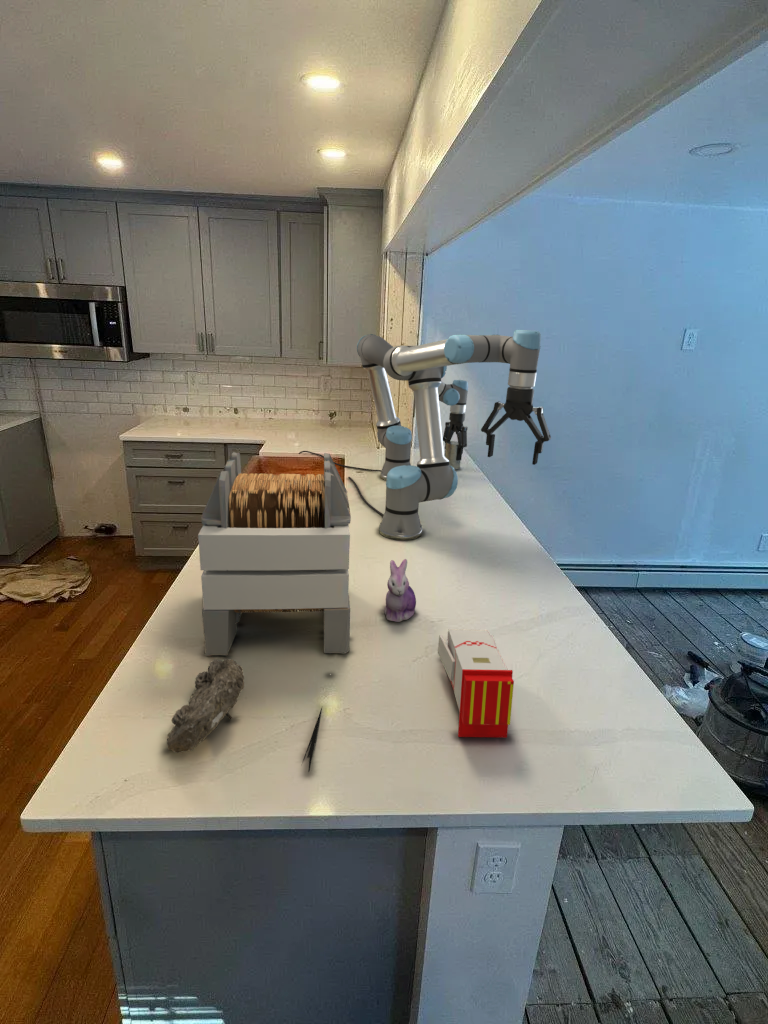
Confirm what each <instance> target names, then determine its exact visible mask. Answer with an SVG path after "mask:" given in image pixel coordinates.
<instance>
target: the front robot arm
mask: <svg viewBox="0 0 768 1024" xmlns="http://www.w3.org/2000/svg"><path fill="white" fill-rule="evenodd" d="M541 340H542V334H541V332H540V331H539V330H530V329H515V330H514V331H513V335H512V336H509V335H501V334H483V335H482V334H478V335H477V334H464V333H463V334H462V333H461V334H453V335H450V336H449V337H448V338H446V339H440V340H437V341H433V342H428V343H423V344H419V345H395V346H393V348H391V349H390V350H388V352H387V353H386V354H385V356H384V360H383V365H384V369H385V371H386V373H387V376H389V377H390V378H392V379H393V380H396V381H407V384H408V388H409V389H410V390H411V391H412V392H413V400H414V401H413V402H414V410H415V419H416V421H415V422H416V429H417V430H416V431H417V440H418V449H419V460H418V462H417V463H416V465H412V464H411V465H408V466H406V465H403V466H398V467H395V468H392V469H391V470H390V471H389V472H388V474H387V480H385V504H384V505H385V507H384V508H385V509H384V513H382V512H381V511H380V510H378V509H377V508H375V507H374V506H373V505H371V504H370V503H369V502H368V501H367V500H366V499H365V497H364V496H363V494H362V492H361V491H360V489H359V486H358V485H357V483H356V482H355V481H354V480H353V478H352V477H350V476H348V479H349V480H350V481H351V482H352V483H353V485H354V486H355V488H356V490H357V492H358V494H359V496H360V498H361V500H363V502H364V503H365V504H366V505H367V506H368V507H369V508H371V509H372V510H373V511H375V512H376V513H377V514H379V515H380V516H381V517H382V519H381V522H379V525H378V533H379V534H380V535H381V536H382V537H385V538H387V539H389V540H395V541H410V540H415V539H418V538H420V537H421V536H422V535H423V525H422V524H421V518H420V515H419V507H420V506H419V505H420V503H426V502H432V501H437V500H439V501H441V500H444V499H446V498H450V497H451V496H453V495H454V493H455V492H456V490H457V488H458V482H459V478H458V477H459V476H458V473H457V471H456V469H454V468H453V467H452V466H450V465H449V460H448V459H447V458H445V447H444V441H443V431H442V430H443V427H442V418H441V407H440V401H439V397H438V387H439V386H440V384H441V381H442V379H443V378H444V377H445V375H446V372H447V369H448V366H455V365H462V364H463V365H464V364H468V363H469V364H470V363H472V364H473V363H478V364H479V363H500V364H509V371H508V379H507V385H508V387H507V389H506V396H505V397H506V398H505V403H504V402H501V401H500V400H498V401H495V402H494V403H493V408H492V410H491V412H490V414H489V416H488V417H487V419H486V420H485V422H484V423H483V425H482V427H481V429H480V432H482V433H484V434H485V435H486V436H485V437H486V438H485V445H486V446H487V447H488V448H487V458H492V457H493V456H494V450H495V439H496V434H495V433H494V432H495V431H496V430H498V429H499V428H500V427H501V426H502V425H503V424H504V423H505V422H506V421H507V420H508V419H509V420H511V421H519V422H522V421H524V423H525V424H527V426H528V428H529V429H530V431H531V432H532V434H533V436H534V438H535V439H536V441H535V442H534V448H533V455H532V463H531V465H533V466H536V465H537V464H538V459H539V454H542V452H543V451H544V445H545V442H549V441H551V439H552V436H551V434H550V433H551V432H550V431H549V430H550V429H549V427H548V424H547V422H546V421H547V420H546V418H545V415H544V406H542V405H540V406H534V405H533V404H534V396H535V395H534V394H535V389H534V387H535V386H536V380H537V373H538V364H539V356H540V351H541V347H542V346H541ZM501 410H504V411H505V413H504V414H503V415H502V416H501V417H500V418H499V419H498V420H497V421H496V422H495V423H494V424H493V425H492V423H493V422H494V420H495V418H496V417H497V415H498V414H499V412H500V411H501ZM533 412H534V415H535V416H536V418H537V421H538V424H539V427H540V429H539V428H538V426H537V424H536V423H535V421H534V419H533V417H532V416H531V414H532V413H533ZM491 425H492V426H491ZM540 430H541V431H540Z"/></svg>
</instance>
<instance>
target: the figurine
mask: <svg viewBox="0 0 768 1024" xmlns="http://www.w3.org/2000/svg"><path fill="white" fill-rule="evenodd" d="M407 567H408V559H406V558H404V559H403V560H402V561H401V563H400V565H399V566H398V565H397V563H396V562H395V561H394V560H393V559H391V560H390V561H389V570H390V576H389V578H388V579H387V589H388V591H387V592H386V594H385V595H386V596H385V607H384V615H385V616H386V620H387V621H391V622H395V623H400V622H402V621H406V620H409V619H410V618H411V617H413V616H414V615H415V610H416V606H417V597H416V593H415V591H414V590H413V587H411V586H410V582H409V579H408V577H407V574H406V571H407Z"/></svg>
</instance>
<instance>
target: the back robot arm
mask: <svg viewBox="0 0 768 1024" xmlns="http://www.w3.org/2000/svg"><path fill="white" fill-rule="evenodd" d="M393 347H394V346H393V345H392V344H390V343H389V342H388V341H387V340H386V339H384V337H382V336H379V335H376V334H372V333H370V334H365V335H362V336H361V337H360V338H359V339H358V342H357V344H356V351H357V352H356V353H357V355H358V356H359V358H360V362H361V366H362V369H363V370H365V371H366V373H367V377H368V381H369V382H368V383H369V386H370V390H371V395H372V398H373V403H374V407H375V411H376V416H377V422H376V423H375V426H376V430H377V432H376V436H377V437H376V438H377V440H378V443H379V444H380V445H381V446H382V447H383V448H384V449H385V451H384V452H385V453H384V456H385V457H384V462H383V465H382V468H381V469H372V468H371V469H370V468H363V467H357V466H349V465H344V464H342V463H341V464H340V463H338V462H335V461H333V462H334V464H335V466H339V467H342V468H347V469H354V470H359V471H368V472H378V473H380V479H382V480H383V481H386V480H387V474H388V472H389V471H390V470H391V469H392V468H395V467H398V466H403V465H406V466H408V465H412V463H411V453H412V439H413V436H412V430H411V429H410V428H409V427H407V426H403V425H402V423H401V419H400V417H398V416H397V414H396V411H395V405H394V401H393V396H392V391H391V388H390V382H389V377H388V374H387V373H386V371H385V369H384V365H383V360H384V356H385V354H386V353H387V352H388V350H390V349H391V348H393ZM468 392H469V382H468V381H467V380H463V379H454V380H452V383H450V384H447V383H445V382H444V381H442V380H441V384H440V386H439V387H438V397H439V402H441V403H443V404H445V405H446V406H449V416H448V417H449V418H448V420H449V421H445V423H444V425H445V426H444V431H443V434H442V438H443V443H444V452H445V451H446V442H448V441H452V439H453V436H454V434H455V435H456V438H457V442H458V444H459V447H458V448H457V458H456V460H457V461H458V460H461V461H462V457H463V453H464V448H467V447H468V426H465V425H464V422H465V421H466V420H465V419H466V411H467V401H468V394H469V393H468ZM461 444H462V445H461ZM302 453H306V454H311V455H315V456H319V457H321V458H323V459H324V454H320V453H317V452H312V451H310V450H309V451H308V450H301V451H299V452H298V453H297V454H298V455H300V454H302Z"/></svg>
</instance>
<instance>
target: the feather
mask: <svg viewBox="0 0 768 1024" xmlns="http://www.w3.org/2000/svg"><path fill="white" fill-rule="evenodd" d="M329 675H330V676H331V675H332V674H331V673H330V674H329ZM322 710H323V707H321V708H320V710H319V713H318V716H317V719H316V723H315V725H314V728H313V731H312V733H311V737H310V739H309V742H308V745H307V748H306V751H305V754H304V757H303V760H302V763H301V767H302V765H303V763H304V761H305V758H308V759H309V760H308V762H307V763H308V764H307V766H308V771H310V770H311V766H312V765H311V764H312V760H313V757H315V756H314V755H315V751H316V749H315V746H317V739H318V733H319V729H320V722H321V717H322V712H323V711H322ZM313 754H314V755H313ZM306 755H307V757H306Z"/></svg>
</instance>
